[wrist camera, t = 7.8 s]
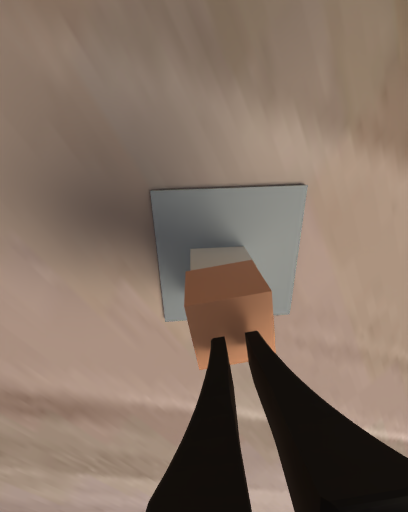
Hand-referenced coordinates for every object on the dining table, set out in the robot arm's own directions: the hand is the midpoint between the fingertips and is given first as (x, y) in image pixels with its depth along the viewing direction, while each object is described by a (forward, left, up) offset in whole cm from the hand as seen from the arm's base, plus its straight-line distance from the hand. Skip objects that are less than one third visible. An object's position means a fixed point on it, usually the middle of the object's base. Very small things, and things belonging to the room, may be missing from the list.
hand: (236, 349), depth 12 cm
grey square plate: (-1, -1, -9) cm, 9 cm away
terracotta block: (0, 0, -5) cm, 5 cm away
